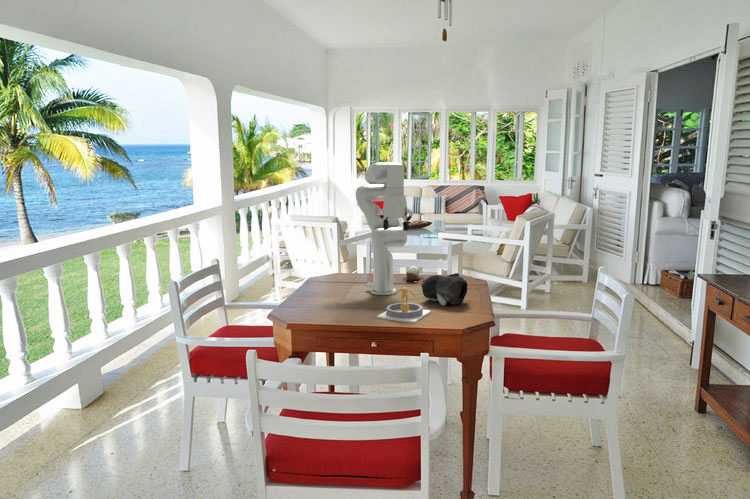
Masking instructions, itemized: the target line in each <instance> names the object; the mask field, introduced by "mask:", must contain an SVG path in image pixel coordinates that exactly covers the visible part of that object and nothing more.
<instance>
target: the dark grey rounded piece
mask: <svg viewBox="0 0 750 499" xmlns="http://www.w3.org/2000/svg"><path fill="white" fill-rule="evenodd" d="M420 285H421V288H422V294H423V297H425V299H428V300H430V301H433V302H439V304H440V305H441V306H443V307H444V306H446V305H447V304H449V305H456V304H458V305H461V306H462V305H463V302H464V300H465V297H466V296H467V294H468V281H467V280H466V279H464V277H461V276H460V274H459V273H458V272H455V273H450V274H448V275H447V276H443V275H438V274H437V275H436V274H434V275H430V276H428V277H427V278H425V280H424V281H422V282H421V284H420Z"/></svg>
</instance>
